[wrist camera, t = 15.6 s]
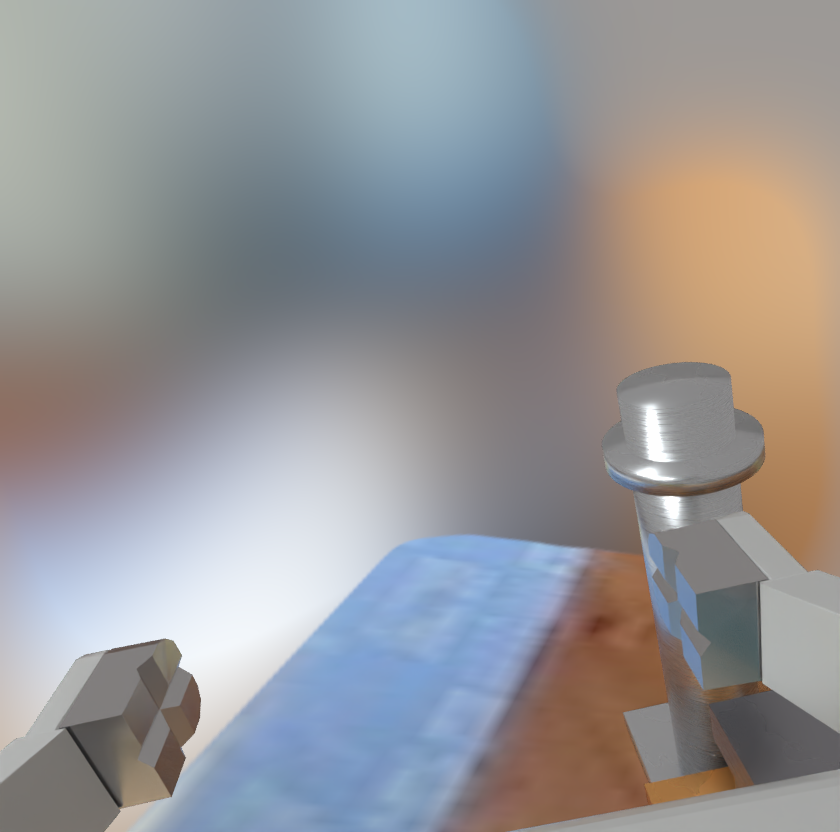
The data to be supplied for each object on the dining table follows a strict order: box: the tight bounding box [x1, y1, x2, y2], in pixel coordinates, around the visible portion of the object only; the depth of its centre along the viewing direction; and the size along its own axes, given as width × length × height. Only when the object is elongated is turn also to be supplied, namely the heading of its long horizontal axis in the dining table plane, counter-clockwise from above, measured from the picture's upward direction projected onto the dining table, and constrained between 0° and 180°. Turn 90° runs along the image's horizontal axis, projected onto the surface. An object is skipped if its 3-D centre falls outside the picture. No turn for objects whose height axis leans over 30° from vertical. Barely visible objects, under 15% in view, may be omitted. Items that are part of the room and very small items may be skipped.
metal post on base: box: [602, 362, 765, 805], centre depth 26 cm, size 16×10×24 cm, turn 1°
